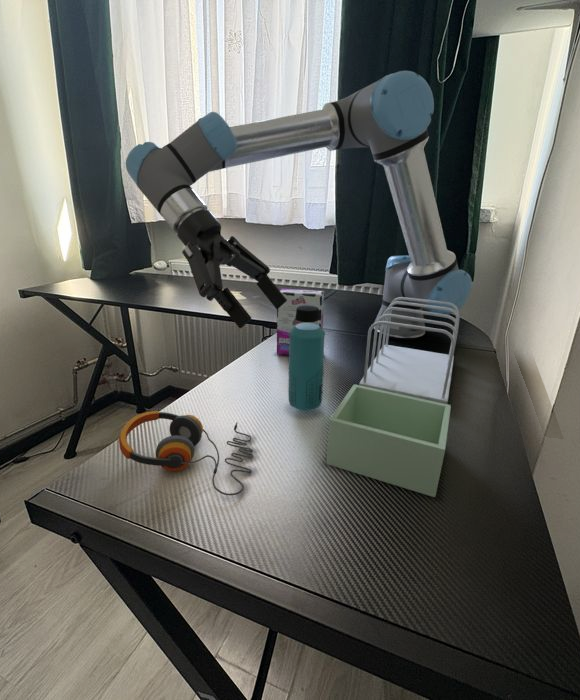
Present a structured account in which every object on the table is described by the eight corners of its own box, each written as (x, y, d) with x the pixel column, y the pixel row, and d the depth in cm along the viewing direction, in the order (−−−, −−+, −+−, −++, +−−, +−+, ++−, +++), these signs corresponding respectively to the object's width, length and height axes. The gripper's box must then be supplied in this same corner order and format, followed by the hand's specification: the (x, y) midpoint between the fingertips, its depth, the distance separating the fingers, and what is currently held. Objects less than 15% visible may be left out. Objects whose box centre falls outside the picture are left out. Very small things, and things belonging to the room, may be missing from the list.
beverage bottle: (322, 418, 68) (329, 312, 61) (286, 417, 68) (288, 311, 61) (320, 400, 74) (326, 302, 67) (287, 400, 74) (289, 301, 67)
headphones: (250, 483, 48) (95, 448, 47) (242, 514, 50) (93, 481, 49) (263, 415, 64) (147, 387, 63) (256, 440, 66) (143, 414, 65)
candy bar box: (321, 352, 98) (325, 290, 92) (319, 359, 94) (322, 294, 88) (280, 348, 100) (281, 287, 94) (275, 355, 96) (276, 291, 90)
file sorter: (382, 351, 100) (389, 293, 94) (452, 363, 94) (464, 302, 88) (358, 390, 79) (365, 319, 73) (446, 409, 72) (462, 333, 67)
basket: (350, 422, 67) (353, 384, 64) (442, 446, 61) (451, 405, 58) (326, 464, 57) (329, 419, 54) (435, 497, 51) (445, 449, 48)
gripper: (220, 232, 81) (282, 309, 81) (129, 242, 60) (213, 346, 59) (241, 206, 77) (306, 287, 77) (151, 207, 56) (240, 319, 55)
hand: (265, 313), depth 68 cm, fingers open, 13 cm apart
